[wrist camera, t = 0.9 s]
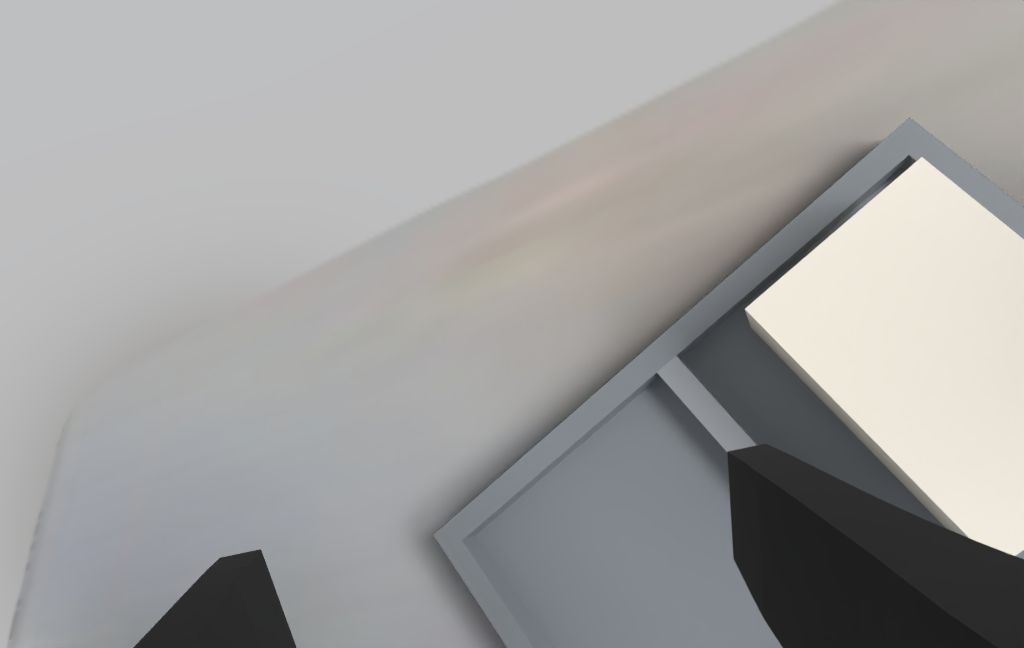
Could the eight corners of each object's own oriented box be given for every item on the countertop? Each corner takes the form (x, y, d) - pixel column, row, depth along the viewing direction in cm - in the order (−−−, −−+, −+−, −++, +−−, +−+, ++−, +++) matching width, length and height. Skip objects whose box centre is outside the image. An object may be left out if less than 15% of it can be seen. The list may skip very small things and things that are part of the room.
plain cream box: (1135, 408, 17) (1230, 405, 14) (954, 537, 19) (998, 567, 15) (895, 204, 20) (921, 156, 17) (750, 327, 21) (744, 308, 18)
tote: (1238, 411, 17) (1281, 410, 16) (649, 819, 21) (639, 849, 20) (900, 138, 21) (909, 117, 19) (453, 527, 25) (433, 535, 23)
